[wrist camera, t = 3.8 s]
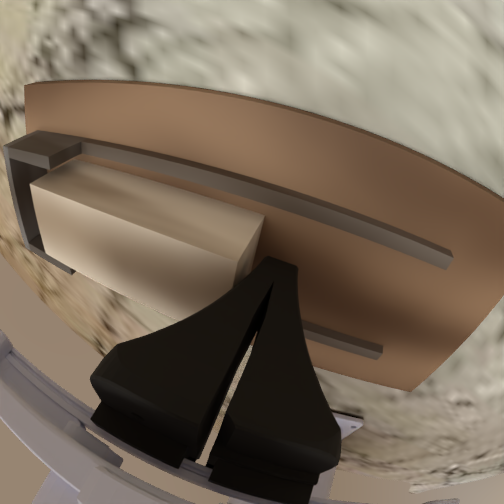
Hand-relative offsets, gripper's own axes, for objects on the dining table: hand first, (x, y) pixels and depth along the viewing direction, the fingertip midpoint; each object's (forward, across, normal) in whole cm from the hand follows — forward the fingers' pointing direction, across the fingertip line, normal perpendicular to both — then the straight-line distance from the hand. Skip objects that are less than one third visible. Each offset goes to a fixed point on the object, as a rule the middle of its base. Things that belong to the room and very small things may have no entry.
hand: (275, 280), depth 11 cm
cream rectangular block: (+1, +6, 0) cm, 6 cm away
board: (+2, +3, 0) cm, 3 cm away
